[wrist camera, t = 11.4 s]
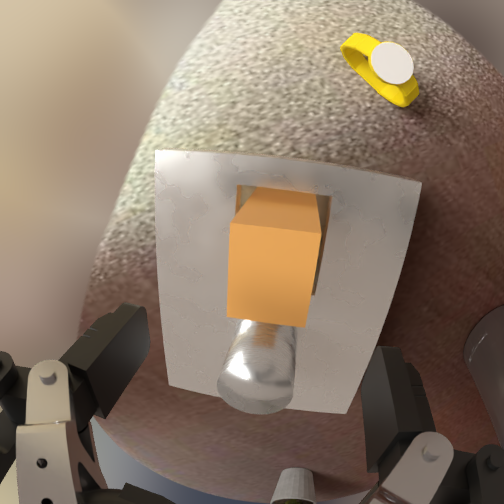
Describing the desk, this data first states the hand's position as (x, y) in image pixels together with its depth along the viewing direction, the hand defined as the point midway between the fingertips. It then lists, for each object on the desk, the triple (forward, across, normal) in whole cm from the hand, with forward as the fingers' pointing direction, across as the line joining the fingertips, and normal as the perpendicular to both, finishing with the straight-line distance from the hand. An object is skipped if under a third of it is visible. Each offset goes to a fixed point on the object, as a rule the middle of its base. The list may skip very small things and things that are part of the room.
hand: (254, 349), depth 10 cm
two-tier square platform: (+16, 0, +5) cm, 17 cm away
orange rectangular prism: (+15, 0, 0) cm, 15 cm away
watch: (+16, -5, -12) cm, 21 cm away
